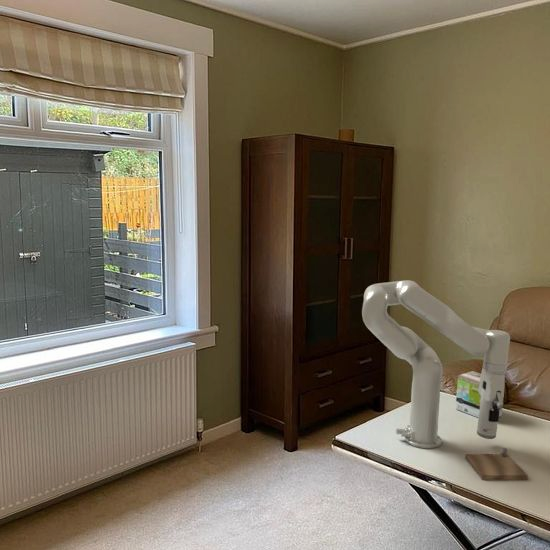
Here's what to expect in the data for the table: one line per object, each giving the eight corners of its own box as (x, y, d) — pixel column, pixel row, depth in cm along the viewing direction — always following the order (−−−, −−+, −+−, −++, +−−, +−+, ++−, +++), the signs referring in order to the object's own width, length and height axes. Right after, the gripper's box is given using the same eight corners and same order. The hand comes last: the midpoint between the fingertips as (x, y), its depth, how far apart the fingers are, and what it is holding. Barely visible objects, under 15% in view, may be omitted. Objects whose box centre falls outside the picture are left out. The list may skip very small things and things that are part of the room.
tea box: (454, 409, 225) (456, 374, 223) (469, 404, 231) (471, 370, 229) (488, 422, 213) (491, 385, 211) (502, 416, 219) (505, 380, 217)
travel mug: (486, 440, 188) (493, 384, 185) (472, 432, 194) (479, 377, 191) (500, 438, 191) (508, 382, 187) (486, 430, 197) (493, 375, 193)
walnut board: (482, 479, 170) (483, 467, 169) (464, 458, 183) (465, 446, 183) (527, 479, 170) (528, 467, 170) (506, 458, 184) (507, 446, 183)
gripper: (473, 358, 197) (468, 407, 200) (494, 374, 180) (488, 427, 183) (494, 359, 197) (488, 407, 200) (517, 375, 180) (511, 428, 183)
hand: (488, 416), depth 191 cm, fingers closed on travel mug, 6 cm apart
